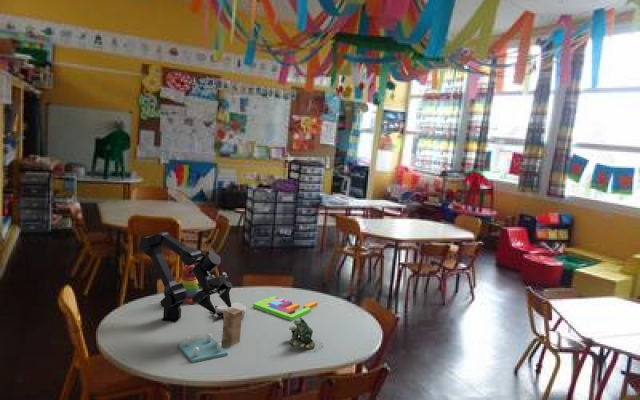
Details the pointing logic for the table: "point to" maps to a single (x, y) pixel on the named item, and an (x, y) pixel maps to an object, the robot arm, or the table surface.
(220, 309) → the robot toy
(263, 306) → the toy blocks
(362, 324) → the table surface
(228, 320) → the walnut pillar
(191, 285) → the stacking bear
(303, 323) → the frog figurine
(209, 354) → the peg plate
